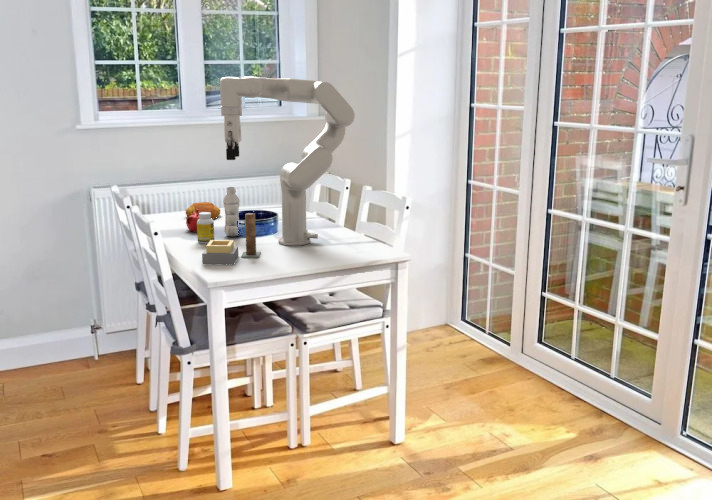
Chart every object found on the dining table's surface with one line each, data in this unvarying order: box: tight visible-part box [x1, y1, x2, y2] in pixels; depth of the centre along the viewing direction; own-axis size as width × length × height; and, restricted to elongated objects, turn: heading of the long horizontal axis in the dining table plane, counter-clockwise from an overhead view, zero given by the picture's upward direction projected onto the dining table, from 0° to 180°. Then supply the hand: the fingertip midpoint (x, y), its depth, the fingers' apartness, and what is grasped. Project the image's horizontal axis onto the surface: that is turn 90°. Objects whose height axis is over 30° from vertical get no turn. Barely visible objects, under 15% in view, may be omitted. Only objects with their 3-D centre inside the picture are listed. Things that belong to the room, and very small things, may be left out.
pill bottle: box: [196, 212, 215, 244], centre depth 279 cm, size 6×6×12 cm
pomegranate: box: [185, 209, 200, 233], centre depth 299 cm, size 10×10×9 cm
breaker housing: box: [201, 239, 239, 266], centre depth 253 cm, size 11×11×6 cm
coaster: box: [240, 251, 262, 259], centre depth 261 cm, size 6×6×1 cm
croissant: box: [185, 201, 221, 219], centre depth 324 cm, size 14×16×8 cm
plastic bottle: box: [222, 186, 240, 237], centre depth 288 cm, size 6×7×20 cm
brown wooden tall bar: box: [244, 212, 257, 255], centre depth 259 cm, size 4×4×15 cm
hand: (233, 158), depth 264 cm, fingers open, 9 cm apart
